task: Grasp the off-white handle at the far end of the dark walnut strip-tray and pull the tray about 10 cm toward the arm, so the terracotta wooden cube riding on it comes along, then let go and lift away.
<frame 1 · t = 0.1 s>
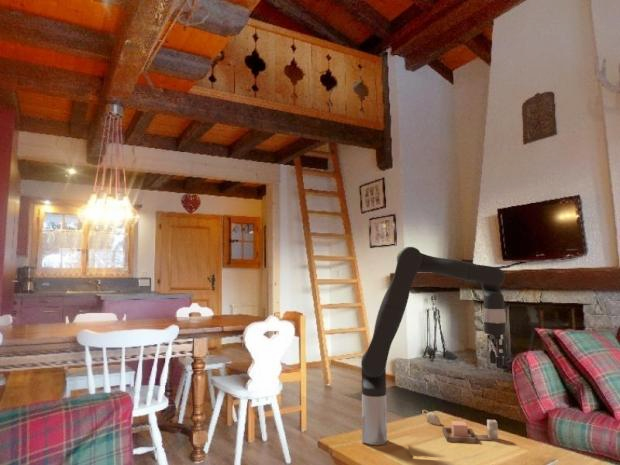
hand: (496, 365, 160), 29 cm above the table, fingers open, 8 cm apart
terracotta cube: (459, 437, 165), point 1 cm above the table, touching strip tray
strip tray: (470, 429, 164), point 4 cm above the table, slide at 0.0 cm, touching terracotta cube
decorative ornament: (432, 425, 181), on the table
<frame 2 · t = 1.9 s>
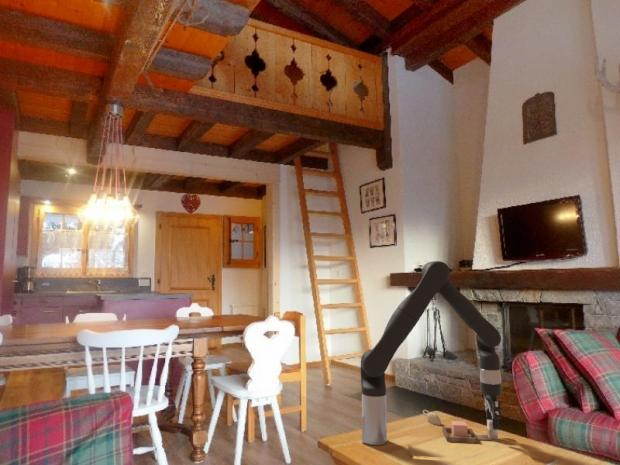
hand: (492, 425, 164), 6 cm above the table, fingers open, 8 cm apart
nothing on the table moved.
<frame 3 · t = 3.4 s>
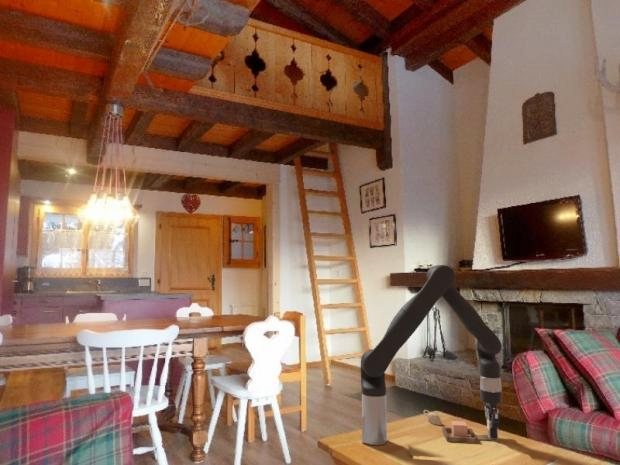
hand: (492, 435, 163), 2 cm above the table, fingers closed on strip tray, 3 cm apart
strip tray: (470, 429, 164), point 4 cm above the table, slide at 0.0 cm, touching gripper, terracotta cube
everything else where it was.
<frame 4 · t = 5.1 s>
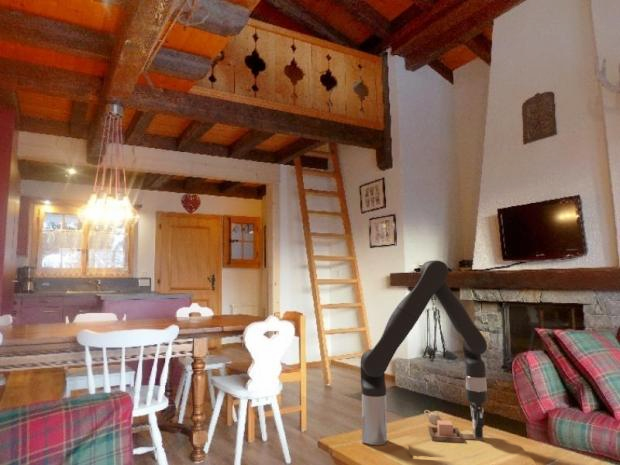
hand: (477, 435, 164), 2 cm above the table, fingers closed on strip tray, 3 cm apart
terracotta cube: (445, 436, 165), point 1 cm above the table, touching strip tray
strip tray: (455, 429, 165), point 4 cm above the table, slide at 5.3 cm, touching gripper, terracotta cube
everything else where it was.
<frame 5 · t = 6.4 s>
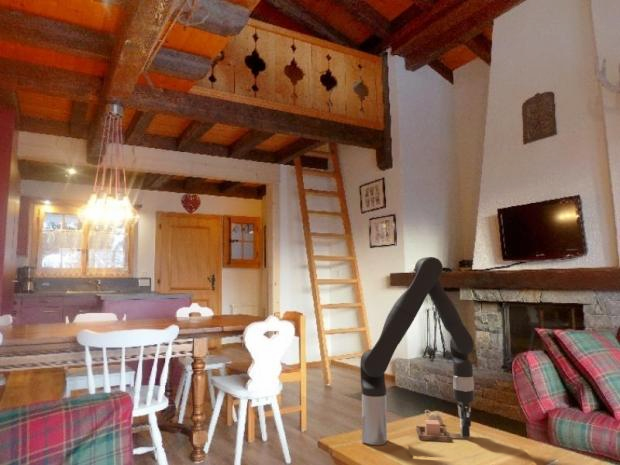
hand: (465, 434, 164), 2 cm above the table, fingers closed on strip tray, 3 cm apart
terracotta cube: (432, 435, 166), point 1 cm above the table, touching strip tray
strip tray: (443, 428, 166), point 4 cm above the table, slide at 10.0 cm, touching gripper, terracotta cube
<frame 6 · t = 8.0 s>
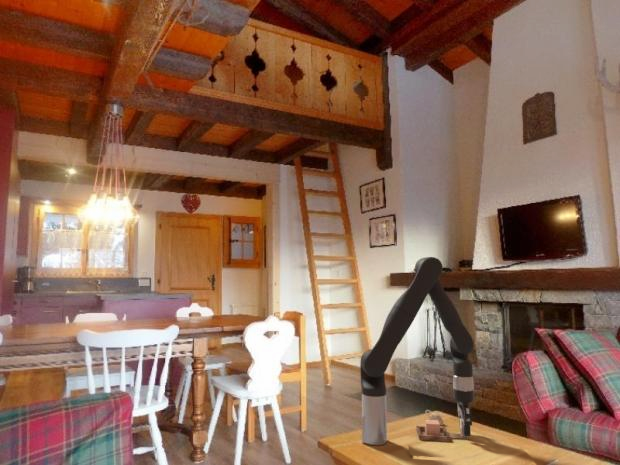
hand: (464, 431, 165), 3 cm above the table, fingers open, 8 cm apart
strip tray: (443, 428, 166), point 4 cm above the table, slide at 10.0 cm, touching terracotta cube
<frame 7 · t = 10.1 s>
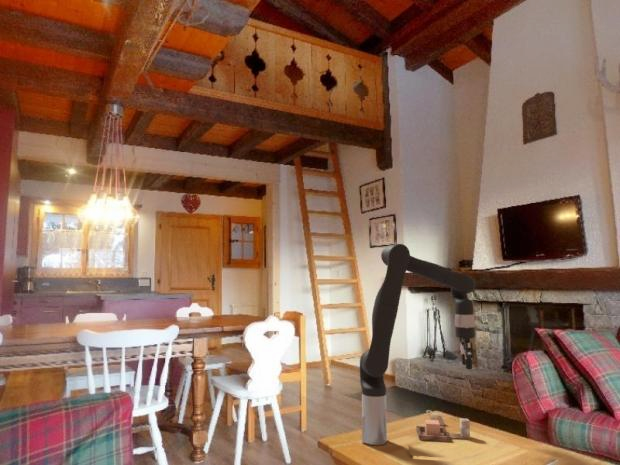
hand: (467, 366, 174), 26 cm above the table, fingers open, 8 cm apart
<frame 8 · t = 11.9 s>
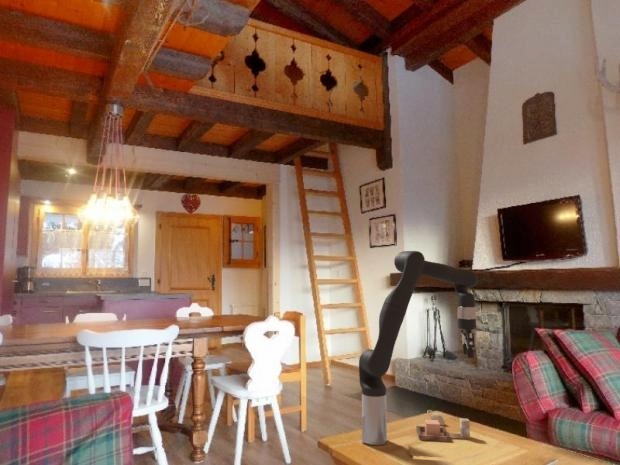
hand: (468, 356, 185), 28 cm above the table, fingers open, 8 cm apart
at the end: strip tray slide at 10.0 cm; terracotta cube inside the target area (0.2 cm from its centre), point 1.1 cm above the table; terracotta cube tilted 0° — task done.
